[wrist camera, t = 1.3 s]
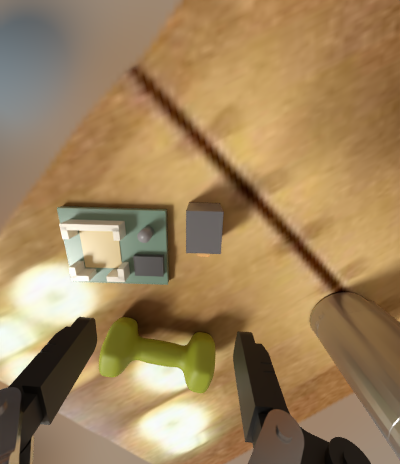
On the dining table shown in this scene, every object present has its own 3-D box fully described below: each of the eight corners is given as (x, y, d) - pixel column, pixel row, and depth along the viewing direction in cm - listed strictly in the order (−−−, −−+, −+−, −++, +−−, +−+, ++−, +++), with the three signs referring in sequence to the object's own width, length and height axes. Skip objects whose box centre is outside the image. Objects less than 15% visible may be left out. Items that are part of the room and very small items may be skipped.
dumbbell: (217, 325, 32) (221, 367, 26) (205, 359, 35) (206, 406, 28) (119, 304, 31) (95, 342, 25) (113, 341, 34) (91, 385, 27)
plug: (219, 203, 26) (223, 211, 21) (217, 241, 28) (220, 257, 23) (189, 202, 26) (186, 210, 21) (189, 241, 28) (186, 256, 23)
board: (166, 209, 26) (162, 214, 23) (168, 280, 30) (165, 293, 27) (62, 206, 26) (44, 211, 23) (76, 277, 30) (63, 289, 27)
